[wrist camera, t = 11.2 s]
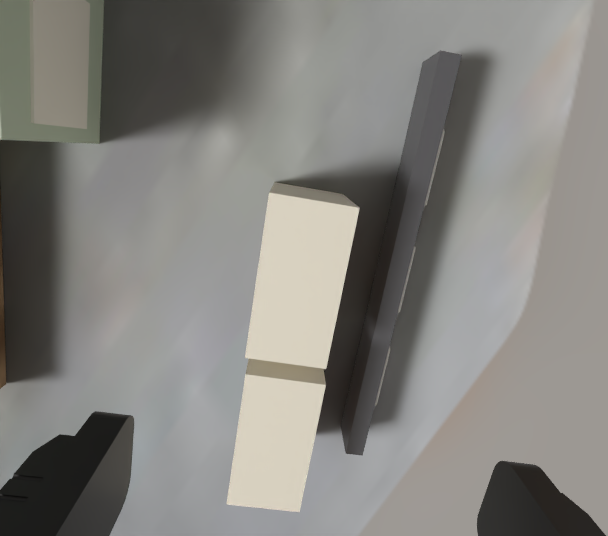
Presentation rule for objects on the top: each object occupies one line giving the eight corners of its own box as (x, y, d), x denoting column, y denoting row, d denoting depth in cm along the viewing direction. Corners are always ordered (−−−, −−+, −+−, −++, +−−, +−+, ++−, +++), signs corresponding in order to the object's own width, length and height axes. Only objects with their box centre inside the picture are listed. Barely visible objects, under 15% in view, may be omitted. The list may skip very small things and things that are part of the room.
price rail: (359, 428, 32) (366, 455, 29) (340, 425, 32) (345, 453, 29) (446, 66, 25) (467, 55, 22) (422, 62, 25) (440, 50, 22)
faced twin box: (319, 331, 30) (328, 385, 23) (299, 436, 32) (301, 512, 25) (255, 322, 29) (245, 374, 22) (239, 429, 32) (226, 504, 25)
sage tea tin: (101, 144, 26) (5, 140, 17) (16, 129, 25) (-128, 118, 16) (107, 0, 23) (-1, -89, 15) (13, -19, 23) (-154, -121, 14)
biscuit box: (344, 194, 27) (362, 208, 20) (320, 319, 29) (328, 369, 23) (274, 182, 27) (269, 192, 20) (255, 309, 29) (245, 357, 22)
